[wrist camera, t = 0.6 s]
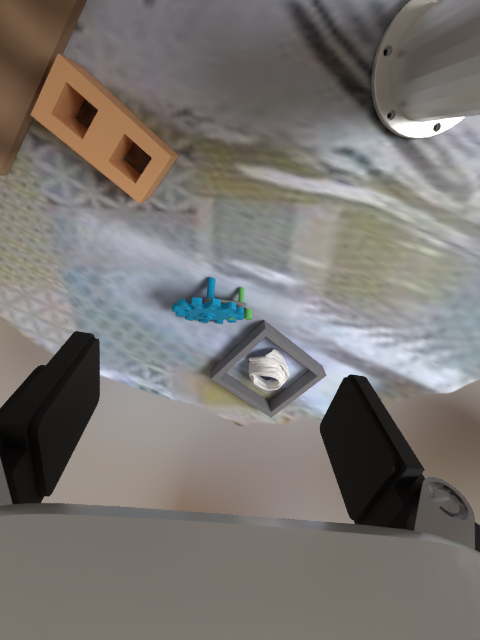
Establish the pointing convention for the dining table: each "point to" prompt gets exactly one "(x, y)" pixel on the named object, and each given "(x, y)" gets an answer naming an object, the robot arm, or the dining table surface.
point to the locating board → (28, 62)
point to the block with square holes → (101, 129)
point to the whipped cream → (269, 370)
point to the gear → (213, 307)
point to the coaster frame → (249, 395)
